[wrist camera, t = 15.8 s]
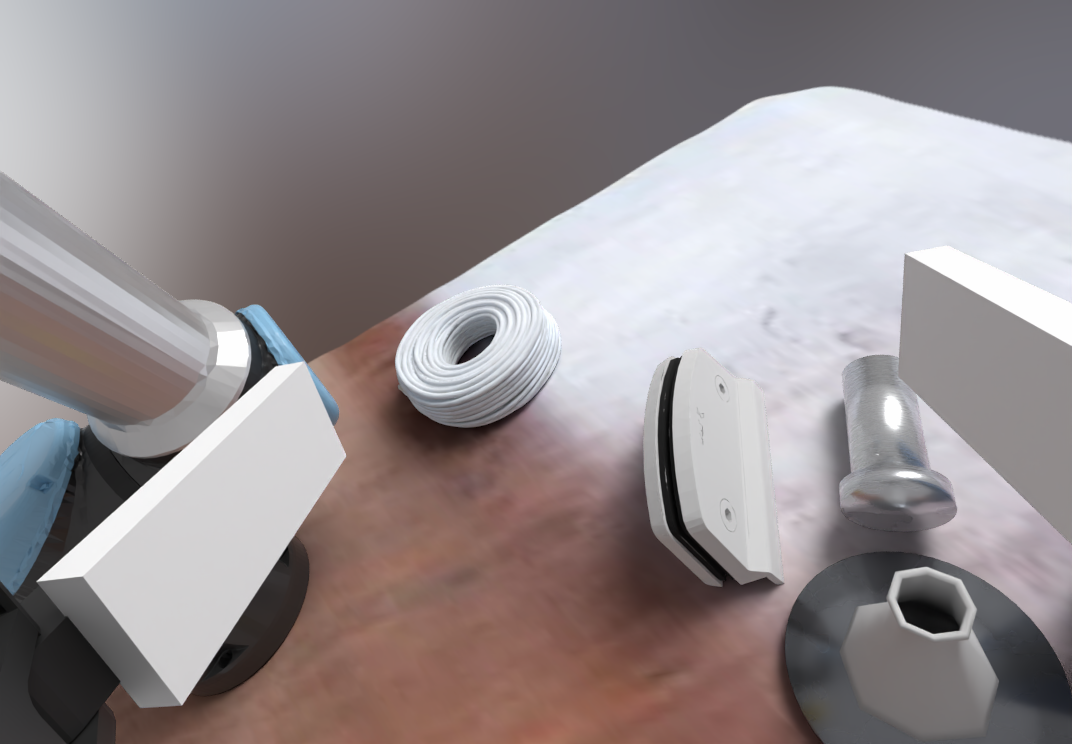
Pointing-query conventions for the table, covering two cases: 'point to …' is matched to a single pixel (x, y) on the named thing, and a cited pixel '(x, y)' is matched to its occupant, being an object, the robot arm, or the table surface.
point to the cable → (490, 377)
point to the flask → (921, 659)
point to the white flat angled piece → (711, 471)
